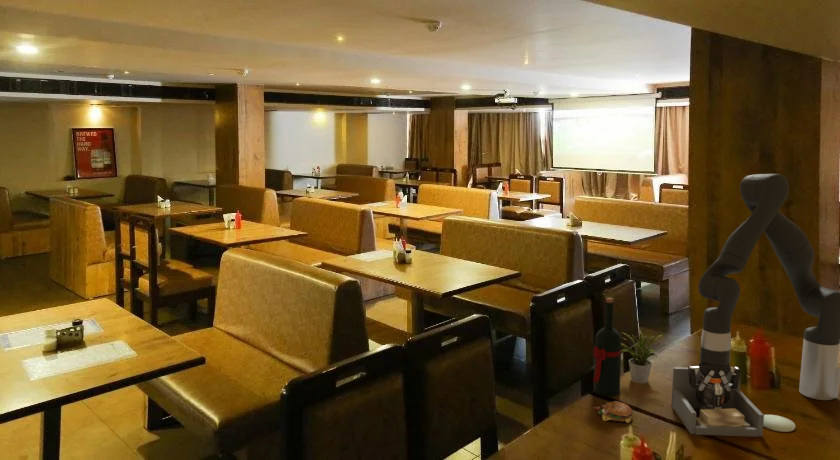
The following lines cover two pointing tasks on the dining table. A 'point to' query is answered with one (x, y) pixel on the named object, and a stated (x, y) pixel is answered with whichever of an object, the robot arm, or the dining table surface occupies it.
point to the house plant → (640, 358)
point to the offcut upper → (721, 417)
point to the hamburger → (616, 412)
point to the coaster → (778, 423)
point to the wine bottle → (607, 356)
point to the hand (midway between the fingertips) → (712, 401)
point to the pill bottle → (713, 395)
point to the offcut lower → (701, 423)
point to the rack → (687, 401)
